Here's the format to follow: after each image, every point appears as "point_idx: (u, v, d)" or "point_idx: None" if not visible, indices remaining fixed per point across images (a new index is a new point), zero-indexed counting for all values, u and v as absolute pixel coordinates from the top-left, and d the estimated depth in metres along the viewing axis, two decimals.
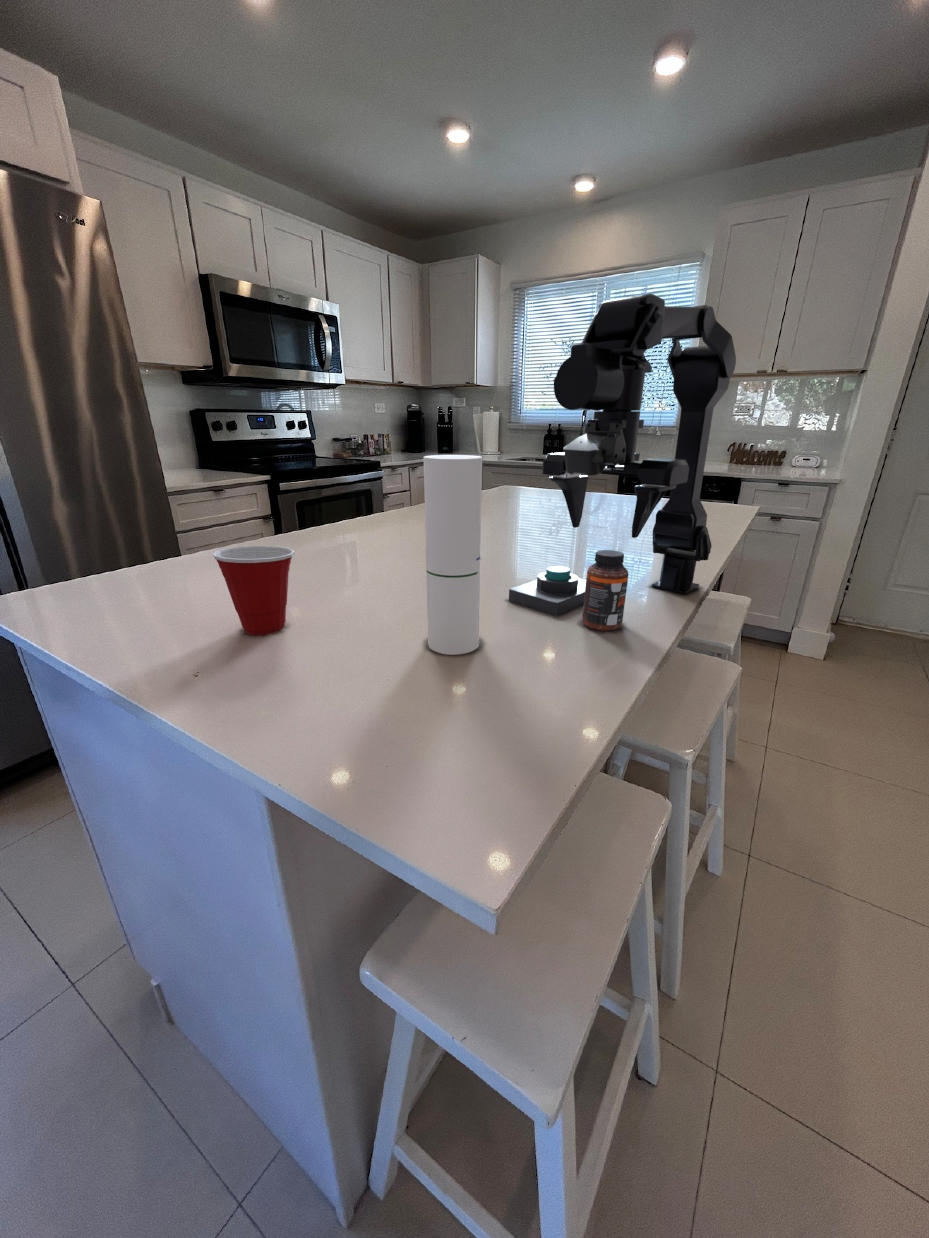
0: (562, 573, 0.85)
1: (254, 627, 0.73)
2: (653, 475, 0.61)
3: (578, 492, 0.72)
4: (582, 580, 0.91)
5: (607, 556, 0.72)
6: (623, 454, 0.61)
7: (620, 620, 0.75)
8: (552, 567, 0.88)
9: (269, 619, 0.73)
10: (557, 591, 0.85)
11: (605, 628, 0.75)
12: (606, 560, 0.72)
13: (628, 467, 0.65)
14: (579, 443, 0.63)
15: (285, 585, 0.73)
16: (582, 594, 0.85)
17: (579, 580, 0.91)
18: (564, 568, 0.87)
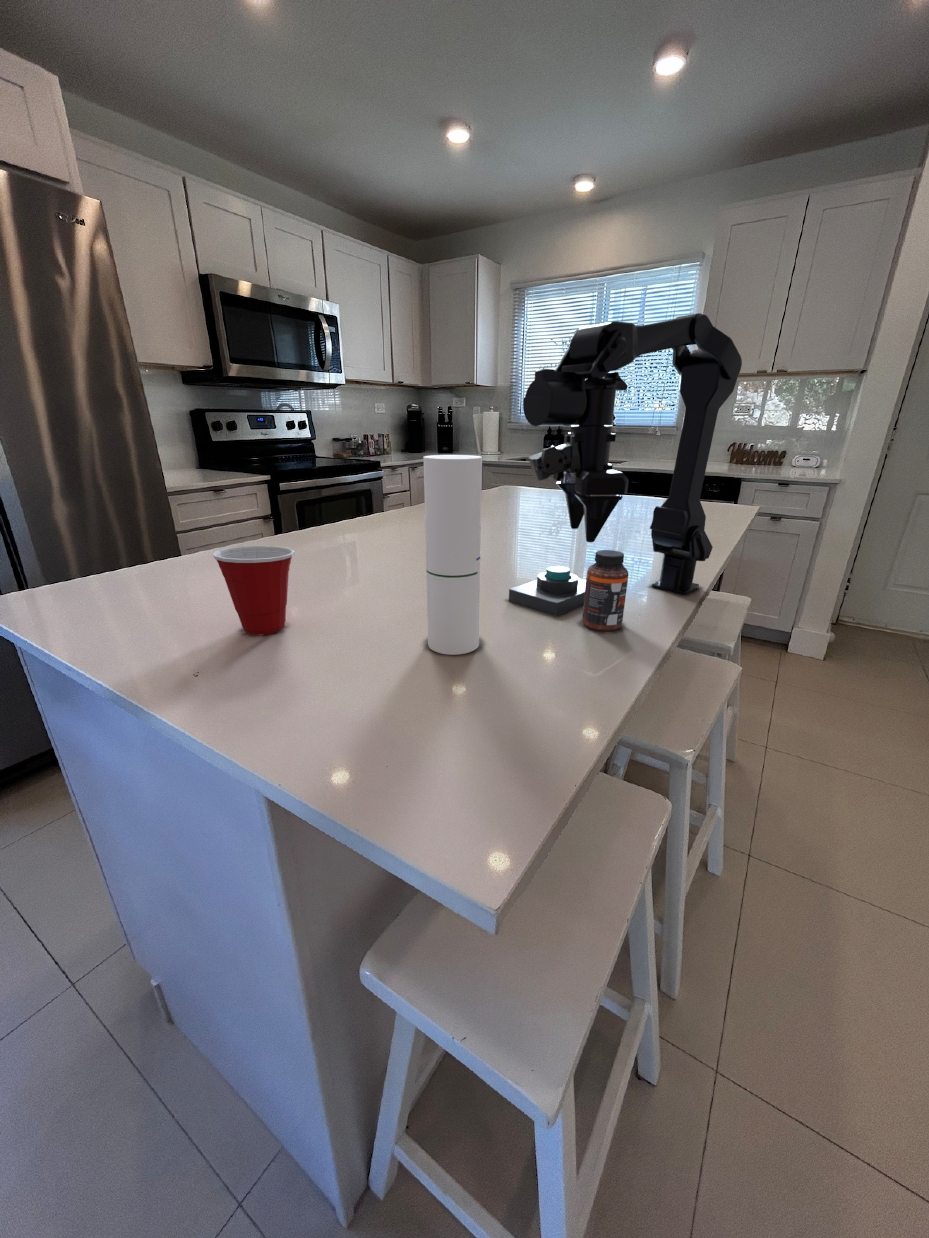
0: (562, 573, 0.85)
1: (254, 627, 0.73)
2: (578, 484, 0.67)
3: (578, 497, 0.80)
4: (582, 580, 0.91)
5: (607, 556, 0.72)
6: (560, 464, 0.69)
7: (620, 620, 0.75)
8: (552, 567, 0.88)
9: (269, 619, 0.73)
10: (557, 591, 0.85)
11: (605, 628, 0.75)
12: (606, 560, 0.72)
13: None
14: (542, 453, 0.74)
15: (285, 585, 0.73)
16: (582, 594, 0.85)
17: (579, 580, 0.91)
18: (564, 568, 0.87)
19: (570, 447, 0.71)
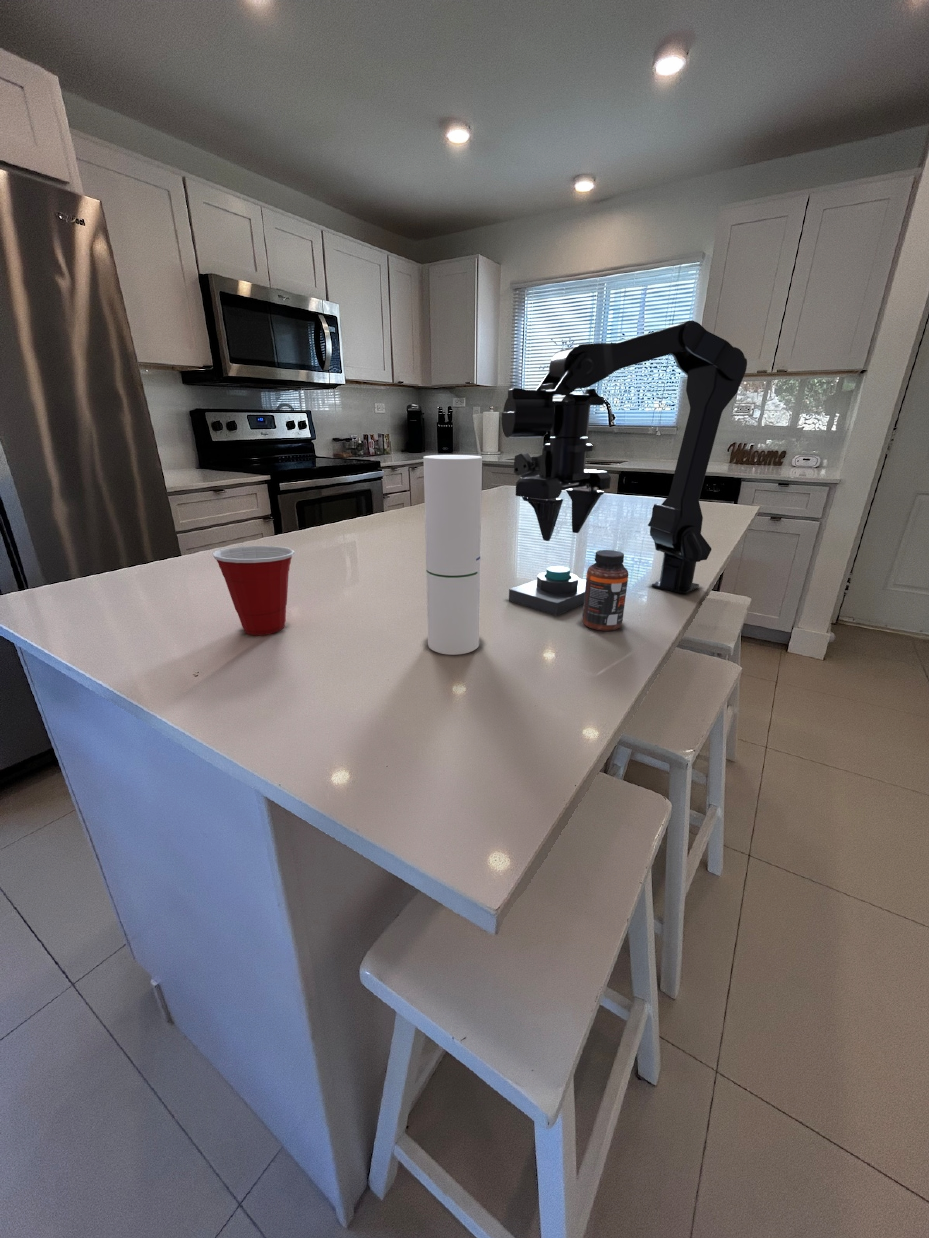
0: (562, 573, 0.85)
1: (254, 627, 0.73)
2: None
3: (580, 504, 0.86)
4: (582, 580, 0.91)
5: (607, 556, 0.72)
6: (525, 469, 0.81)
7: (620, 620, 0.75)
8: (552, 567, 0.88)
9: (269, 619, 0.73)
10: (557, 591, 0.85)
11: (605, 628, 0.75)
12: (606, 560, 0.72)
13: None
14: None
15: (285, 585, 0.73)
16: (582, 594, 0.85)
17: (579, 580, 0.91)
18: (564, 568, 0.87)
19: None
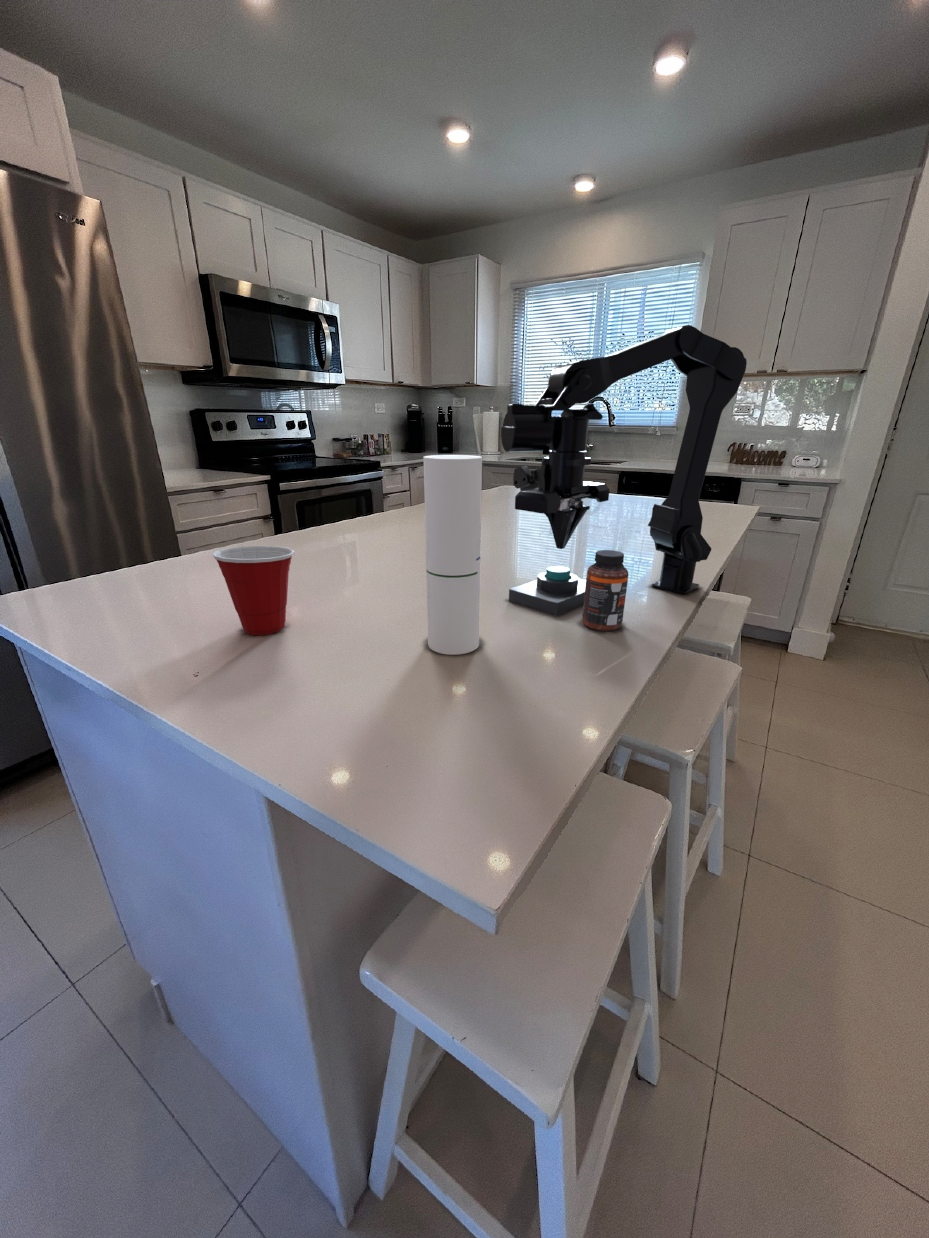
0: (562, 573, 0.85)
1: (254, 627, 0.73)
2: None
3: None
4: (582, 580, 0.91)
5: (607, 556, 0.72)
6: (524, 482, 0.82)
7: (620, 620, 0.75)
8: (552, 567, 0.88)
9: (269, 619, 0.73)
10: (557, 591, 0.85)
11: (605, 628, 0.75)
12: (606, 560, 0.72)
13: None
14: None
15: (285, 585, 0.73)
16: (582, 594, 0.85)
17: (579, 580, 0.91)
18: (564, 568, 0.87)
19: None
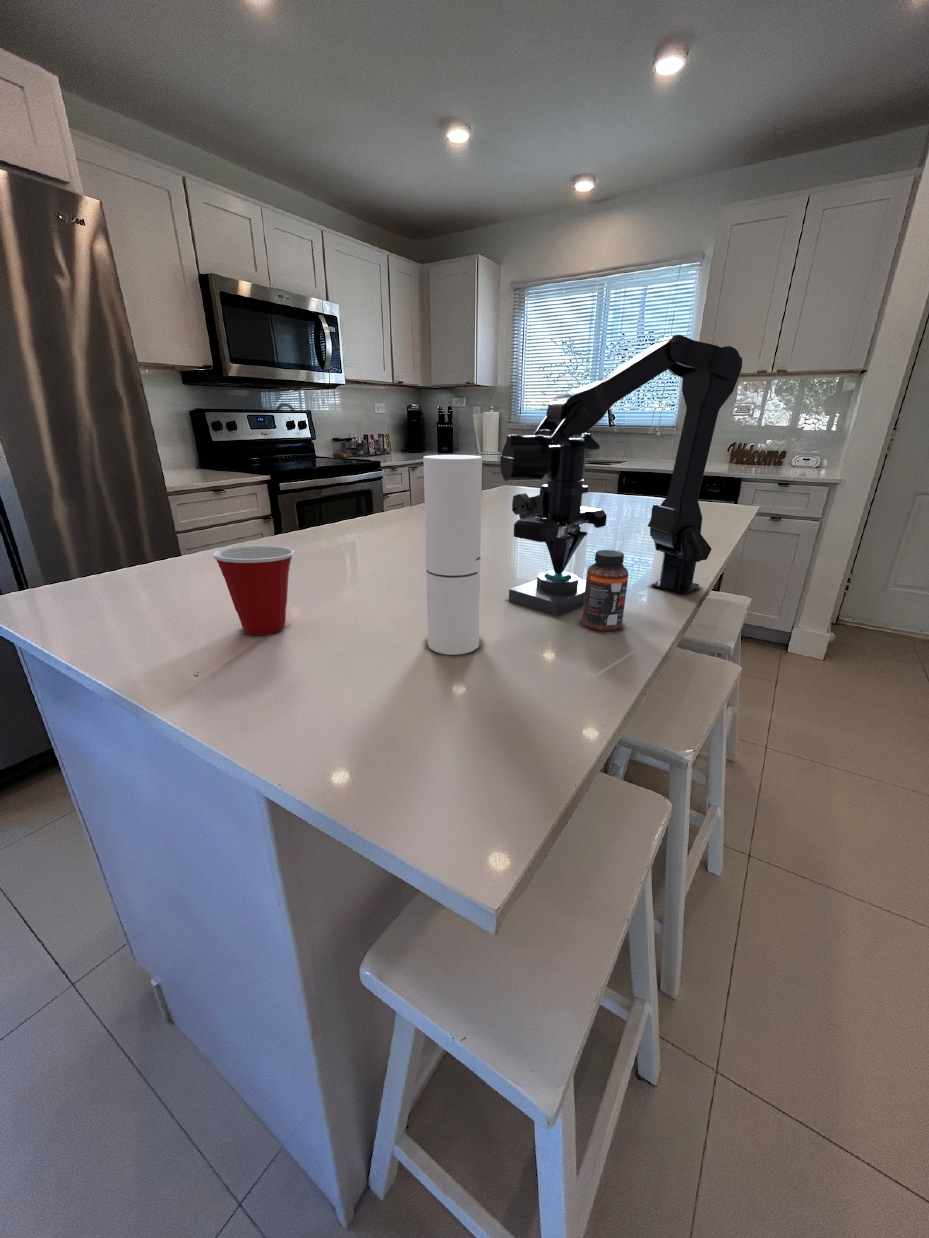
0: (562, 577, 0.85)
1: (254, 627, 0.73)
2: None
3: None
4: (582, 580, 0.91)
5: (607, 556, 0.72)
6: (523, 509, 0.84)
7: (620, 620, 0.75)
8: (552, 571, 0.88)
9: (269, 619, 0.73)
10: (557, 591, 0.85)
11: (605, 628, 0.75)
12: (606, 560, 0.72)
13: None
14: None
15: (285, 585, 0.73)
16: (582, 594, 0.85)
17: (579, 580, 0.91)
18: (564, 572, 0.87)
19: None
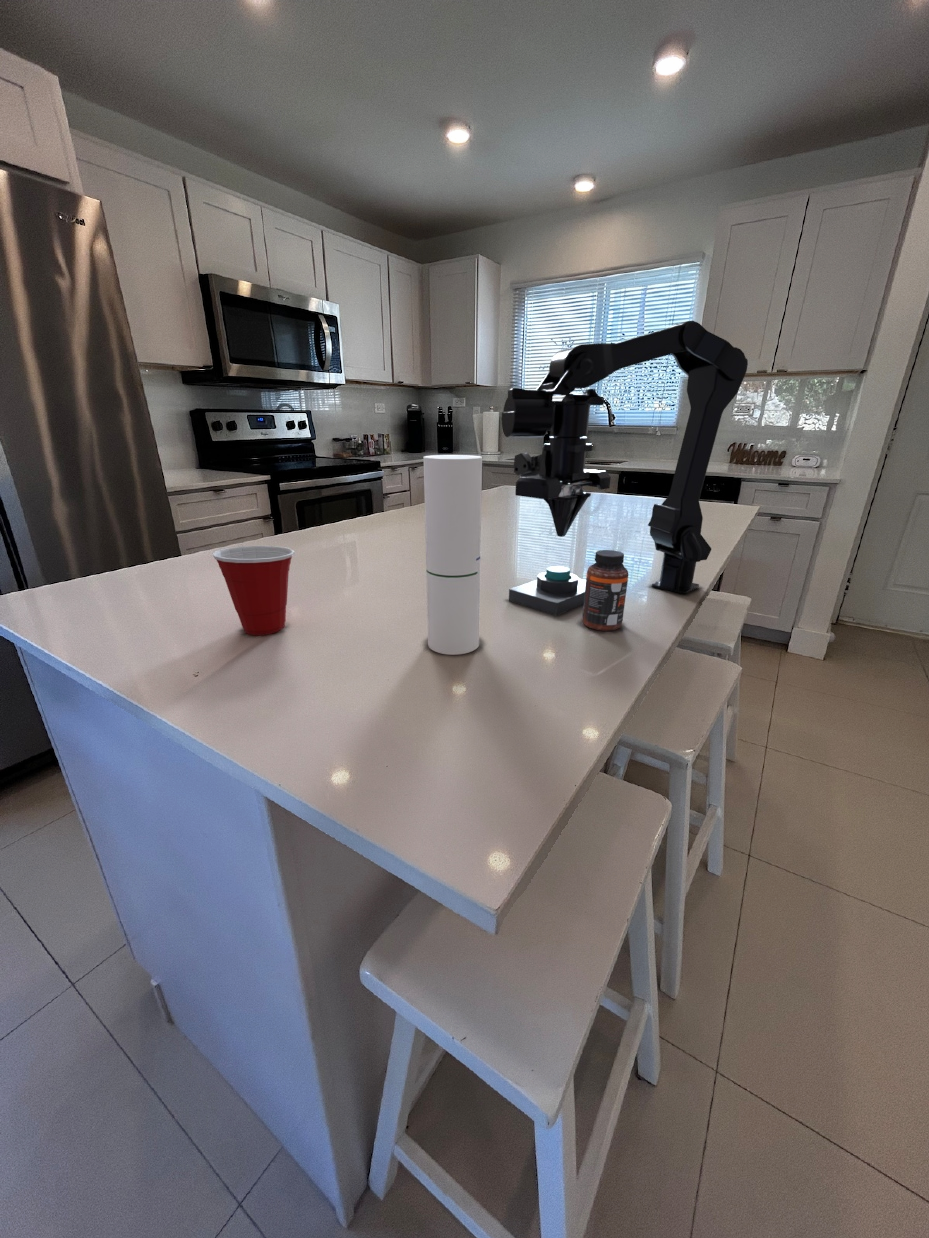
0: (562, 573, 0.85)
1: (254, 627, 0.73)
2: None
3: None
4: (582, 580, 0.91)
5: (607, 556, 0.72)
6: (524, 468, 0.81)
7: (620, 620, 0.75)
8: (552, 567, 0.88)
9: (269, 619, 0.73)
10: (557, 591, 0.85)
11: (605, 628, 0.75)
12: (606, 560, 0.72)
13: None
14: None
15: (285, 585, 0.73)
16: (582, 594, 0.85)
17: (579, 580, 0.91)
18: (564, 568, 0.87)
19: None
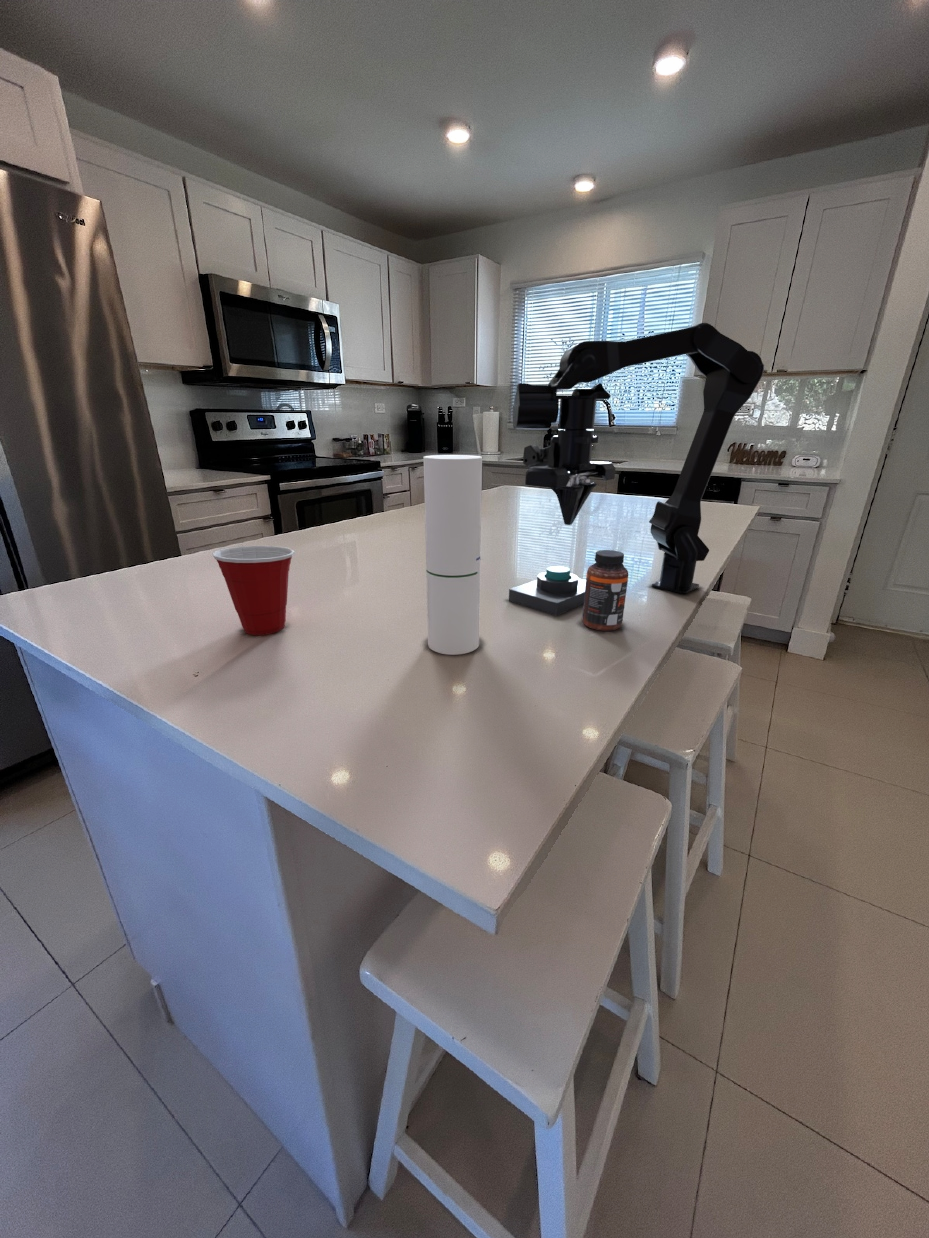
0: (562, 573, 0.85)
1: (254, 627, 0.73)
2: None
3: None
4: (582, 580, 0.91)
5: (607, 556, 0.72)
6: (534, 460, 0.85)
7: (620, 620, 0.75)
8: (552, 567, 0.88)
9: (269, 619, 0.73)
10: (557, 591, 0.85)
11: (605, 628, 0.75)
12: (606, 560, 0.72)
13: None
14: None
15: (285, 585, 0.73)
16: (582, 594, 0.85)
17: (579, 580, 0.91)
18: (564, 568, 0.87)
19: None
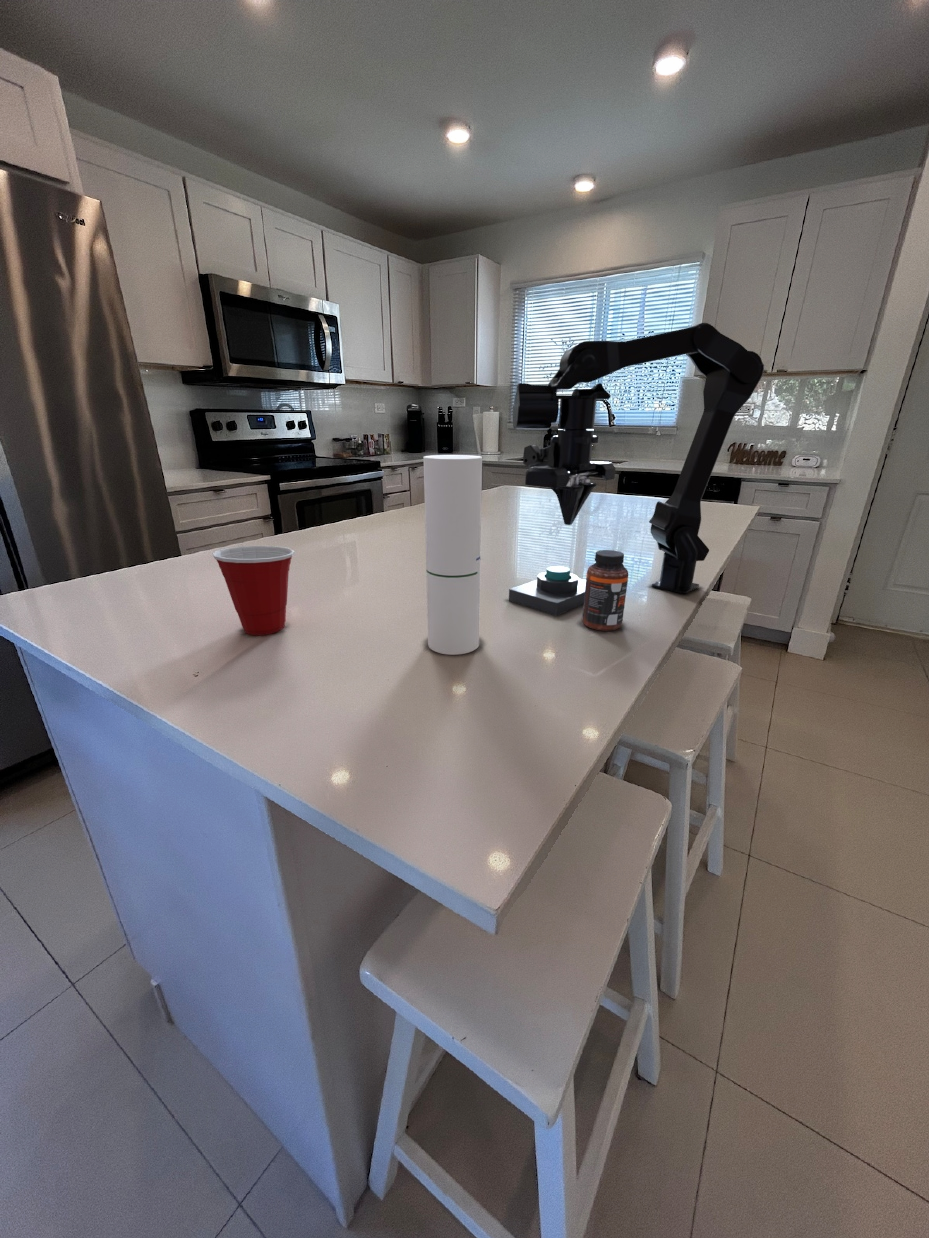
0: (562, 573, 0.85)
1: (254, 627, 0.73)
2: None
3: None
4: (582, 580, 0.91)
5: (607, 556, 0.72)
6: (534, 460, 0.85)
7: (620, 620, 0.75)
8: (552, 567, 0.88)
9: (269, 619, 0.73)
10: (557, 591, 0.85)
11: (605, 628, 0.75)
12: (606, 560, 0.72)
13: None
14: None
15: (285, 585, 0.73)
16: (582, 594, 0.85)
17: (579, 580, 0.91)
18: (564, 568, 0.87)
19: None
